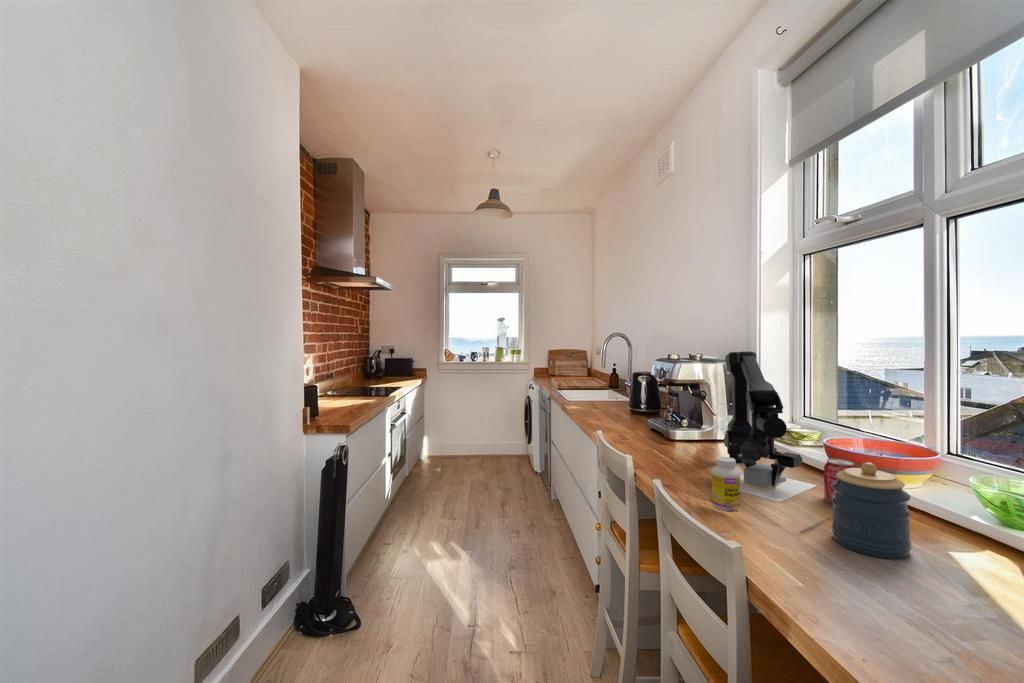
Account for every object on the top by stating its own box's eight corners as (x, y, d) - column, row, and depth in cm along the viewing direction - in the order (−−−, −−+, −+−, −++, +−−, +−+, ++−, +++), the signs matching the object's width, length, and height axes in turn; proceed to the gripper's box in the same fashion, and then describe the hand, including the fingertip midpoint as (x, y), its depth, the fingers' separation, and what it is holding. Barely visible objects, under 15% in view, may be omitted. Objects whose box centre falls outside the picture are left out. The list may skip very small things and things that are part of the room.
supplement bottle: (723, 513, 110) (722, 463, 110) (706, 504, 116) (706, 456, 116) (746, 511, 111) (745, 461, 111) (728, 501, 117) (728, 454, 117)
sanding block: (760, 480, 130) (760, 463, 130) (779, 484, 126) (779, 467, 126) (744, 485, 125) (743, 468, 125) (763, 491, 121) (763, 473, 121)
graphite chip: (772, 477, 132) (772, 474, 132) (786, 480, 129) (786, 478, 129) (765, 480, 130) (765, 477, 130) (779, 483, 127) (779, 480, 127)
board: (754, 474, 140) (754, 470, 140) (817, 490, 125) (817, 485, 125) (714, 488, 128) (714, 483, 128) (779, 507, 113) (779, 501, 113)
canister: (880, 565, 84) (879, 474, 84) (817, 536, 96) (816, 457, 96) (927, 555, 87) (926, 468, 87) (861, 528, 100) (859, 452, 100)
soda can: (846, 502, 115) (845, 457, 115) (865, 513, 108) (864, 465, 108) (818, 502, 116) (817, 457, 116) (835, 512, 109) (834, 465, 109)
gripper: (716, 428, 129) (717, 480, 129) (783, 440, 114) (783, 499, 114) (737, 424, 135) (737, 473, 136) (803, 434, 120) (803, 490, 120)
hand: (763, 483), depth 126 cm, fingers closed on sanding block, 5 cm apart
